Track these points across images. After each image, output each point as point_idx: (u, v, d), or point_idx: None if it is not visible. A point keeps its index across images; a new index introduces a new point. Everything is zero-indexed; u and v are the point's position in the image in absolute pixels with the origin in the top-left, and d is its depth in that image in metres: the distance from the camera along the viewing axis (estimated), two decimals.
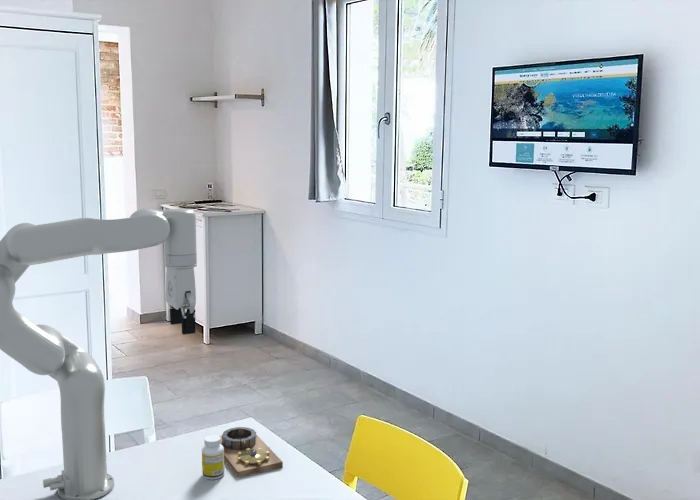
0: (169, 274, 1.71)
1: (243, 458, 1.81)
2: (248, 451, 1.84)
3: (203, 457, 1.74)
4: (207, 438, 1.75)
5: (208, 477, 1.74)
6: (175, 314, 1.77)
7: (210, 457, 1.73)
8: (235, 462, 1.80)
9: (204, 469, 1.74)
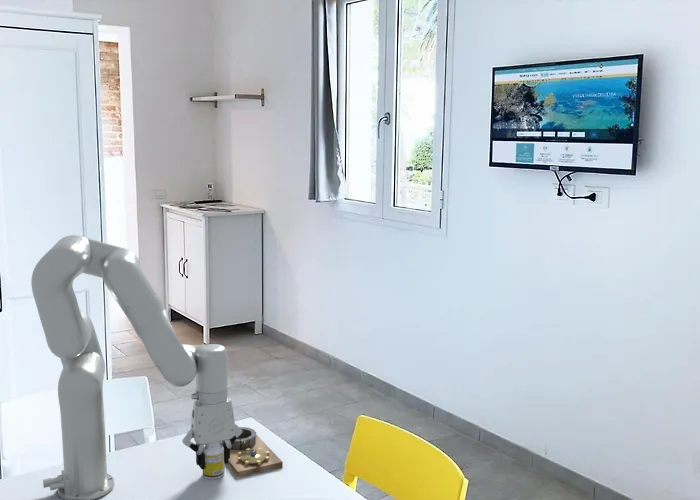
0: (214, 412, 1.71)
1: (243, 458, 1.81)
2: (248, 451, 1.84)
3: None
4: None
5: (208, 477, 1.74)
6: None
7: (210, 457, 1.73)
8: (235, 462, 1.80)
9: (204, 469, 1.74)
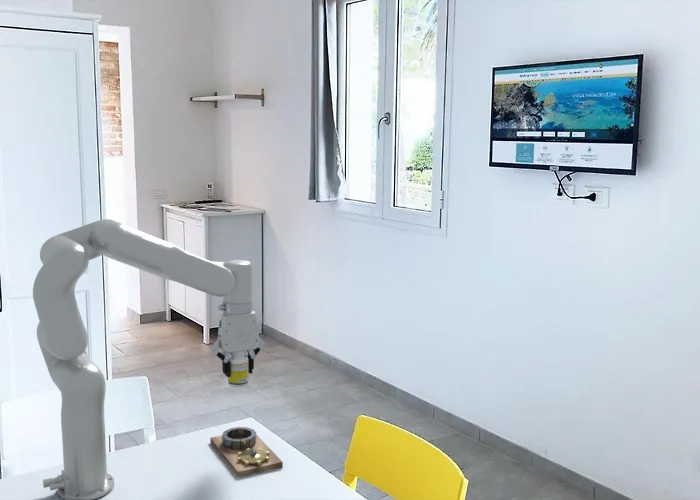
0: (240, 322, 1.83)
1: (243, 458, 1.81)
2: (248, 451, 1.84)
3: None
4: None
5: (234, 384, 1.86)
6: None
7: (236, 366, 1.85)
8: (235, 462, 1.80)
9: (230, 377, 1.86)
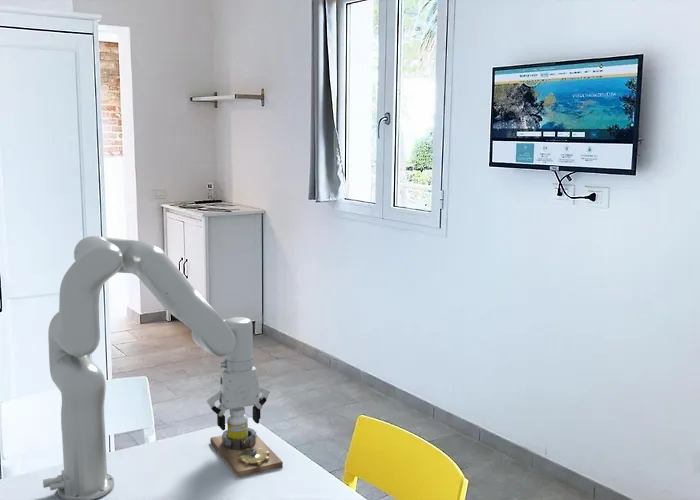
0: (241, 379, 1.86)
1: (243, 458, 1.81)
2: (248, 451, 1.84)
3: (229, 426, 1.89)
4: (232, 409, 1.90)
5: None
6: None
7: (235, 426, 1.88)
8: (235, 462, 1.80)
9: (230, 437, 1.89)
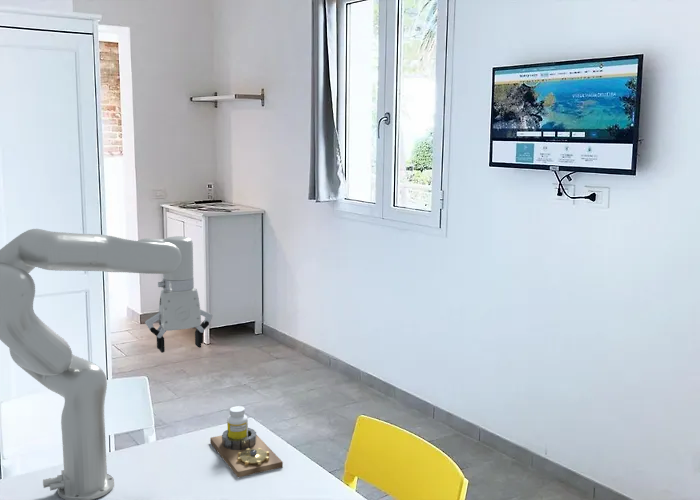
0: (180, 299, 1.80)
1: (243, 458, 1.81)
2: (248, 451, 1.84)
3: (229, 426, 1.89)
4: (232, 409, 1.90)
5: None
6: None
7: (235, 426, 1.88)
8: (235, 462, 1.80)
9: (230, 437, 1.89)
